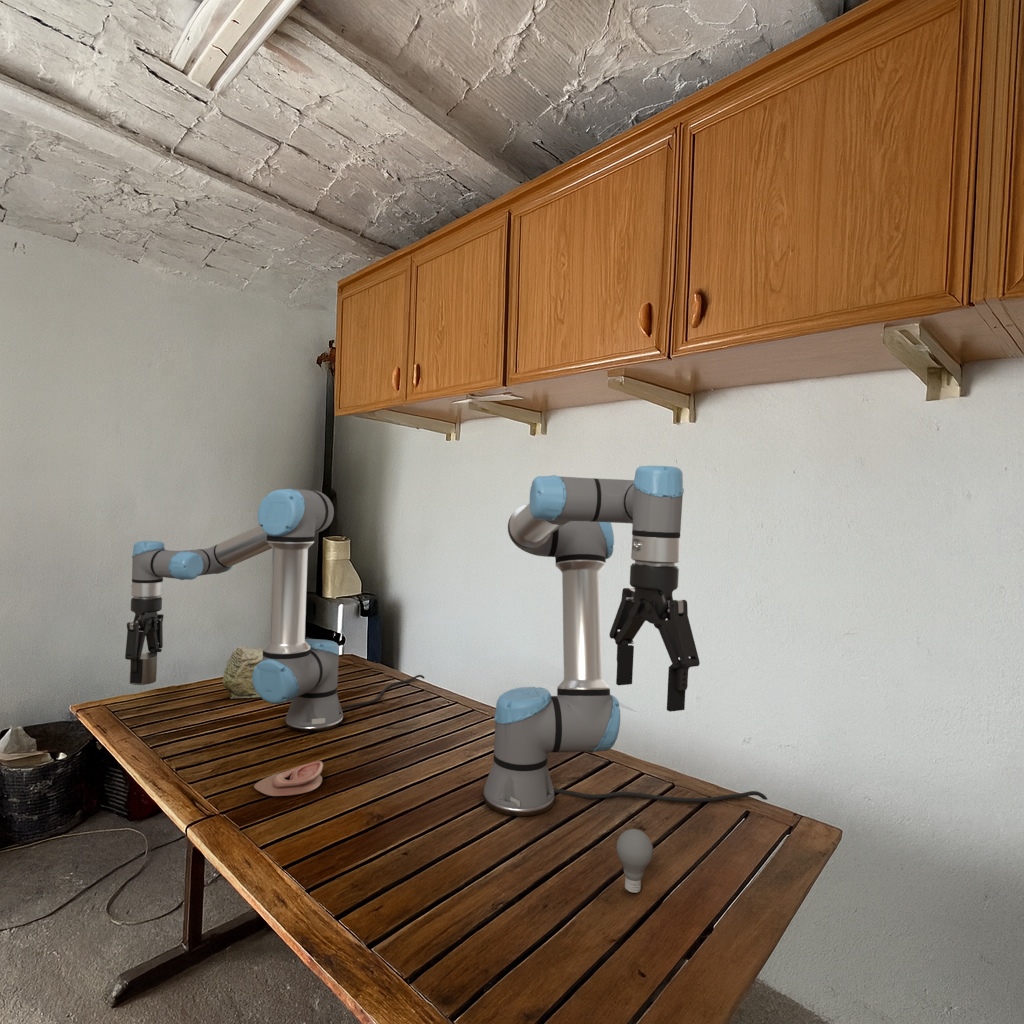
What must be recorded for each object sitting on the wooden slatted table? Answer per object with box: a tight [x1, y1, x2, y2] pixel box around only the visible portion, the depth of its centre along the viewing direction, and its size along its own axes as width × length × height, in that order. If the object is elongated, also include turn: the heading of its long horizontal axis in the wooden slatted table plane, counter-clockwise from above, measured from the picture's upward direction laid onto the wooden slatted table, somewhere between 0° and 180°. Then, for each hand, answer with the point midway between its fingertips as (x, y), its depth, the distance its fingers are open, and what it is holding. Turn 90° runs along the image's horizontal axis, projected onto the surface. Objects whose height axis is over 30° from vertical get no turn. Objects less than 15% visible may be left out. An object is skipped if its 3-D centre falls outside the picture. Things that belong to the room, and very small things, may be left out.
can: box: [129, 652, 158, 686], centre depth 176 cm, size 6×6×7 cm
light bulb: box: [615, 828, 654, 894], centre depth 106 cm, size 6×6×10 cm
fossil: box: [222, 646, 263, 699], centre depth 198 cm, size 9×18×15 cm, turn 132°
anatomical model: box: [253, 760, 324, 797], centre depth 138 cm, size 13×4×12 cm
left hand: (143, 679), depth 176 cm, fingers closed on can, 6 cm apart
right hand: (648, 696), depth 101 cm, fingers open, 13 cm apart
